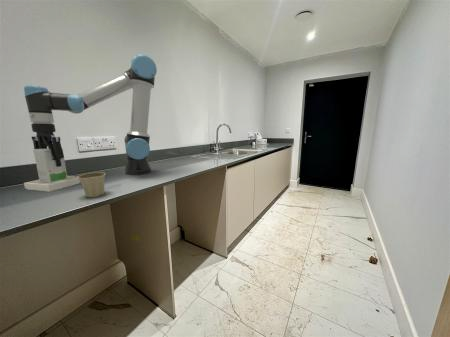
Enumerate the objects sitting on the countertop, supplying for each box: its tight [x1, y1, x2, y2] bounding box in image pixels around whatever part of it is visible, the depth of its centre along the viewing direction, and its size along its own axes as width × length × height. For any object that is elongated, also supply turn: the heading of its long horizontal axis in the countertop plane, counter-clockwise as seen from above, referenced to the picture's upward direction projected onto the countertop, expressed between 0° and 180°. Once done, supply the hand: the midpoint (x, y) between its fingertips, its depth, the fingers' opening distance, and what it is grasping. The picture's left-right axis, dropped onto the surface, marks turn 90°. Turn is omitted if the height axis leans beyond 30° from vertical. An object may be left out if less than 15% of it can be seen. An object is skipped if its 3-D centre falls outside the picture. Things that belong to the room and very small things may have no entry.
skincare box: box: [33, 148, 68, 183], centre depth 85 cm, size 8×7×16 cm
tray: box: [23, 175, 81, 193], centre depth 87 cm, size 15×15×3 cm
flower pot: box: [76, 171, 107, 198], centre depth 74 cm, size 9×9×9 cm
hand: (52, 172), depth 86 cm, fingers closed on skincare box, 6 cm apart
